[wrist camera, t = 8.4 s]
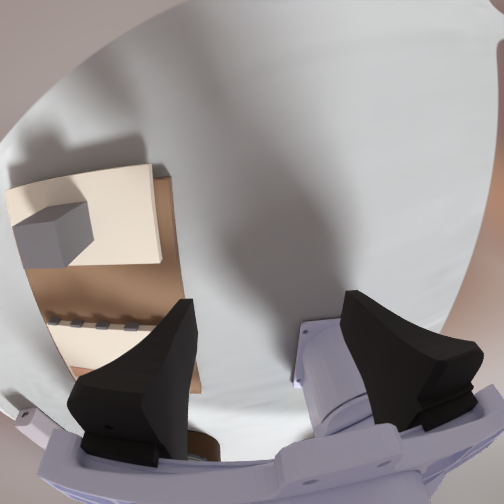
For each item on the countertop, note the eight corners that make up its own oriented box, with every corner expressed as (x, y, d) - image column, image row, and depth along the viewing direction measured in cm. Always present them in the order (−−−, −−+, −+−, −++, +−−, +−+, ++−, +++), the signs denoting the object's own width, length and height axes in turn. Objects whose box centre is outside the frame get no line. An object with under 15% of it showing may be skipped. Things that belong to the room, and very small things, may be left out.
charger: (74, 450, 38) (20, 409, 33) (97, 450, 37) (37, 405, 31) (69, 467, 34) (12, 426, 28) (92, 469, 33) (29, 425, 27)
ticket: (190, 387, 27) (189, 394, 26) (78, 377, 26) (76, 382, 25) (175, 323, 23) (173, 329, 22) (48, 316, 22) (44, 322, 21)
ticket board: (201, 386, 28) (200, 393, 27) (78, 375, 27) (75, 381, 26) (171, 177, 19) (168, 179, 18) (14, 199, 18) (7, 202, 17)
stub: (162, 258, 20) (143, 297, 15) (26, 262, 19) (-6, 291, 15) (151, 163, 17) (122, 175, 12) (10, 188, 16) (-30, 206, 12)
